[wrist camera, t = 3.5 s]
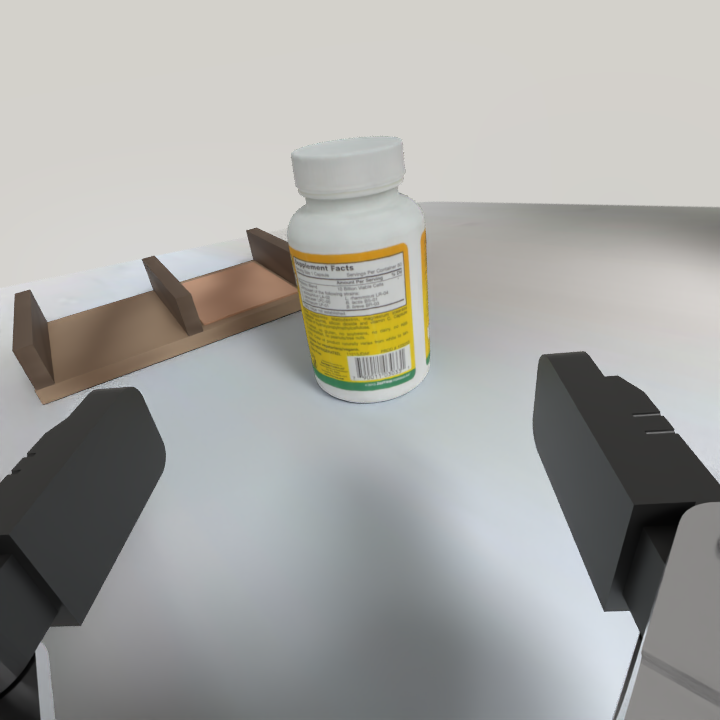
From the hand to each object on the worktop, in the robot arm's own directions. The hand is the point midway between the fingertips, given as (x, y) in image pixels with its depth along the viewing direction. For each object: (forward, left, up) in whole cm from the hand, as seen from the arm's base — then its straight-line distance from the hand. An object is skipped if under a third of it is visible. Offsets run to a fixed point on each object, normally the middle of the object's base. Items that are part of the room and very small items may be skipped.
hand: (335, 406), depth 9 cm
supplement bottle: (-6, -9, -6) cm, 12 cm away
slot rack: (-4, -22, -6) cm, 23 cm away
